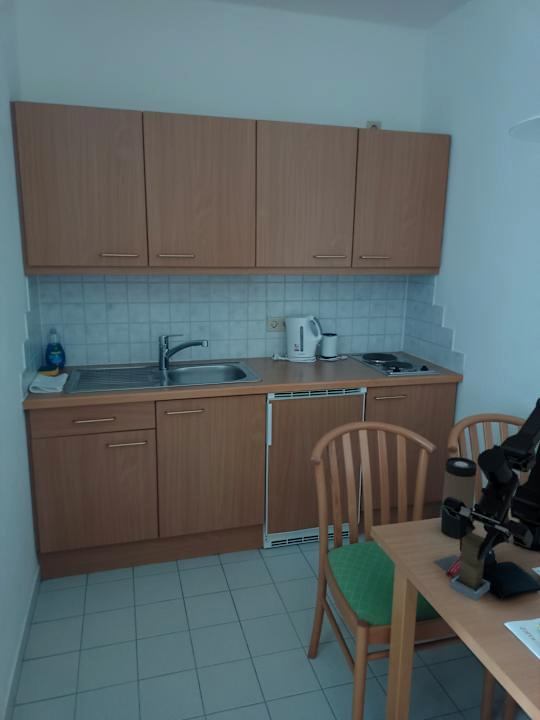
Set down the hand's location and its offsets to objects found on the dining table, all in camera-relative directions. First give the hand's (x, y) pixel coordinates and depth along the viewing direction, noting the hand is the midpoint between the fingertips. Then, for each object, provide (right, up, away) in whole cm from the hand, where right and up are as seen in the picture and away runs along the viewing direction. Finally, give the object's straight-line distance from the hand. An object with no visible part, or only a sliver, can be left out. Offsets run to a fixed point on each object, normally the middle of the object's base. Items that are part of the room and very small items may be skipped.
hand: (469, 555), depth 113 cm
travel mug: (+6, -4, +26) cm, 28 cm away
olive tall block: (+1, -7, +2) cm, 8 cm away
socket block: (+1, -9, +3) cm, 9 cm away
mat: (+1, -7, +11) cm, 13 cm away
